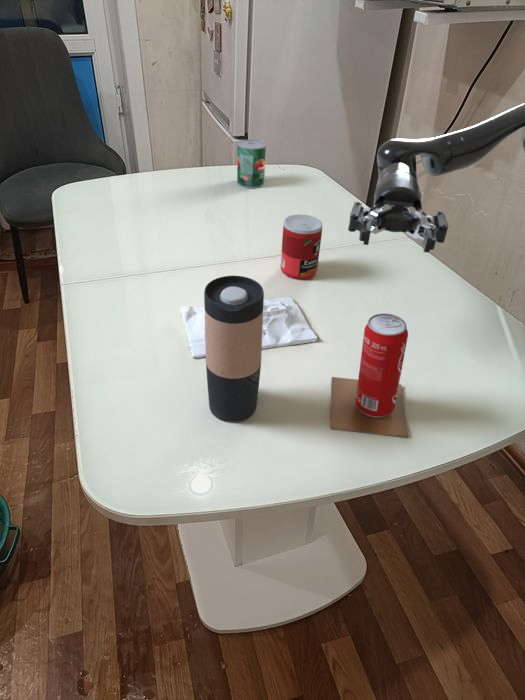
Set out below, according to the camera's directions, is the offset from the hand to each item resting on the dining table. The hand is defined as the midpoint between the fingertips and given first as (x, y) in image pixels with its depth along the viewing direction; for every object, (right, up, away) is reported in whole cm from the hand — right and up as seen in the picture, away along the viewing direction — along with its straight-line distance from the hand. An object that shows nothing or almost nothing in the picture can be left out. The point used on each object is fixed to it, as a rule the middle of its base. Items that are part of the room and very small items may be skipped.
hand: (397, 242), depth 72 cm
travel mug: (-23, -23, +4) cm, 33 cm away
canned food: (-11, +2, +36) cm, 38 cm away
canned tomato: (-22, +33, +75) cm, 85 cm away
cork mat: (-3, -24, +5) cm, 24 cm away
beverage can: (-3, -24, +5) cm, 24 cm away
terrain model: (-22, -11, +20) cm, 32 cm away
